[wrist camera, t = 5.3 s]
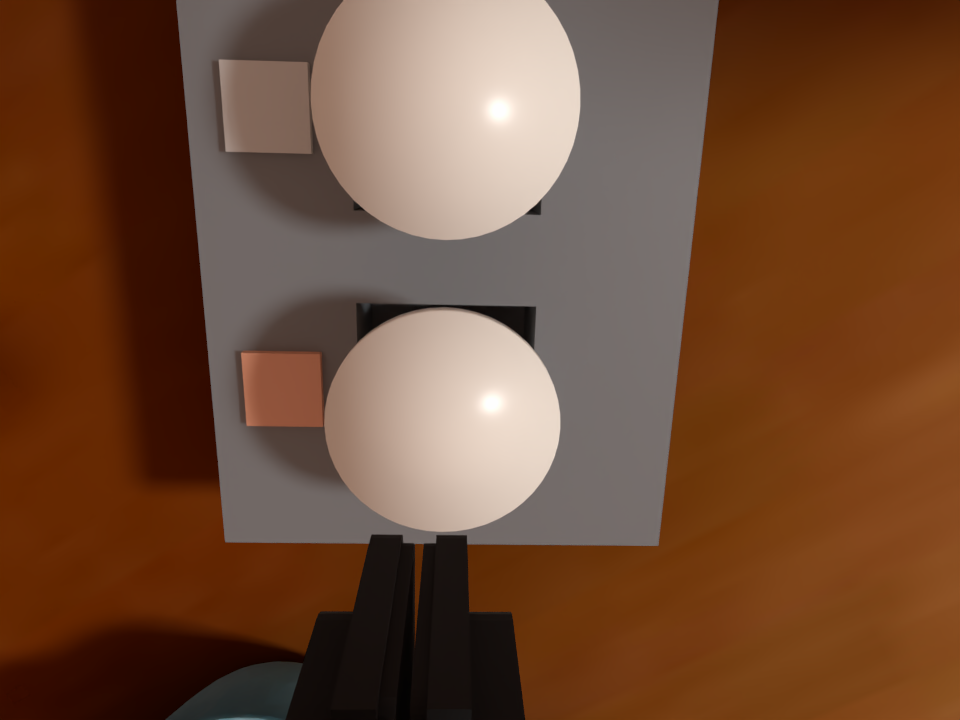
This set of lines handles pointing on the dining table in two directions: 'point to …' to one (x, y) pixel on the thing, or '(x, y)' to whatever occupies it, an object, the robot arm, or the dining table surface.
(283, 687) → the casserole dish
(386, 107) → the button middle
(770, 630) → the dining table surface
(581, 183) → the button board
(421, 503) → the button
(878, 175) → the dining table surface
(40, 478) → the dining table surface
